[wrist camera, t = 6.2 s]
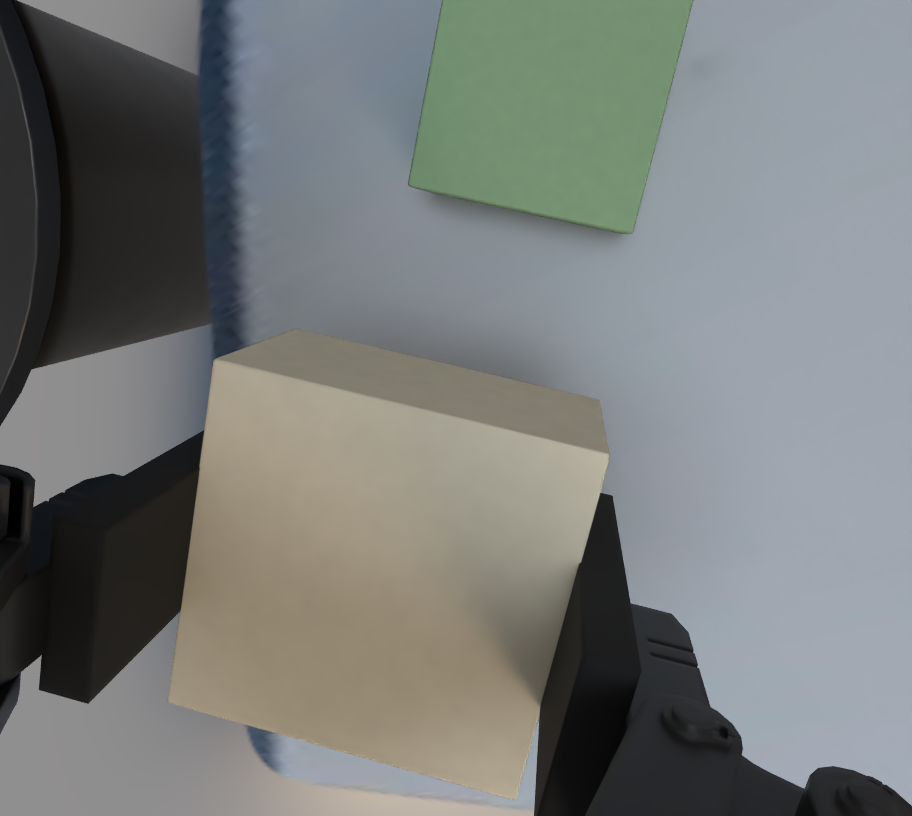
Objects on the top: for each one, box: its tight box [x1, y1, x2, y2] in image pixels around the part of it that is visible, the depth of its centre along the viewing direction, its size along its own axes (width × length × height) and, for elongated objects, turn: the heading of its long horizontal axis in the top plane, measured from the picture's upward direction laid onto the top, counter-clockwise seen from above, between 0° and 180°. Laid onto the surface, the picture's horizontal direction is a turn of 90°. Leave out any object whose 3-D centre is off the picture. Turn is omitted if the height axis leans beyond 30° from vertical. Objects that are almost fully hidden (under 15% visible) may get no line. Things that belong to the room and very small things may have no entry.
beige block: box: [168, 329, 610, 800], centre depth 15 cm, size 6×6×4 cm
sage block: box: [408, 0, 693, 234], centre depth 23 cm, size 6×6×4 cm
